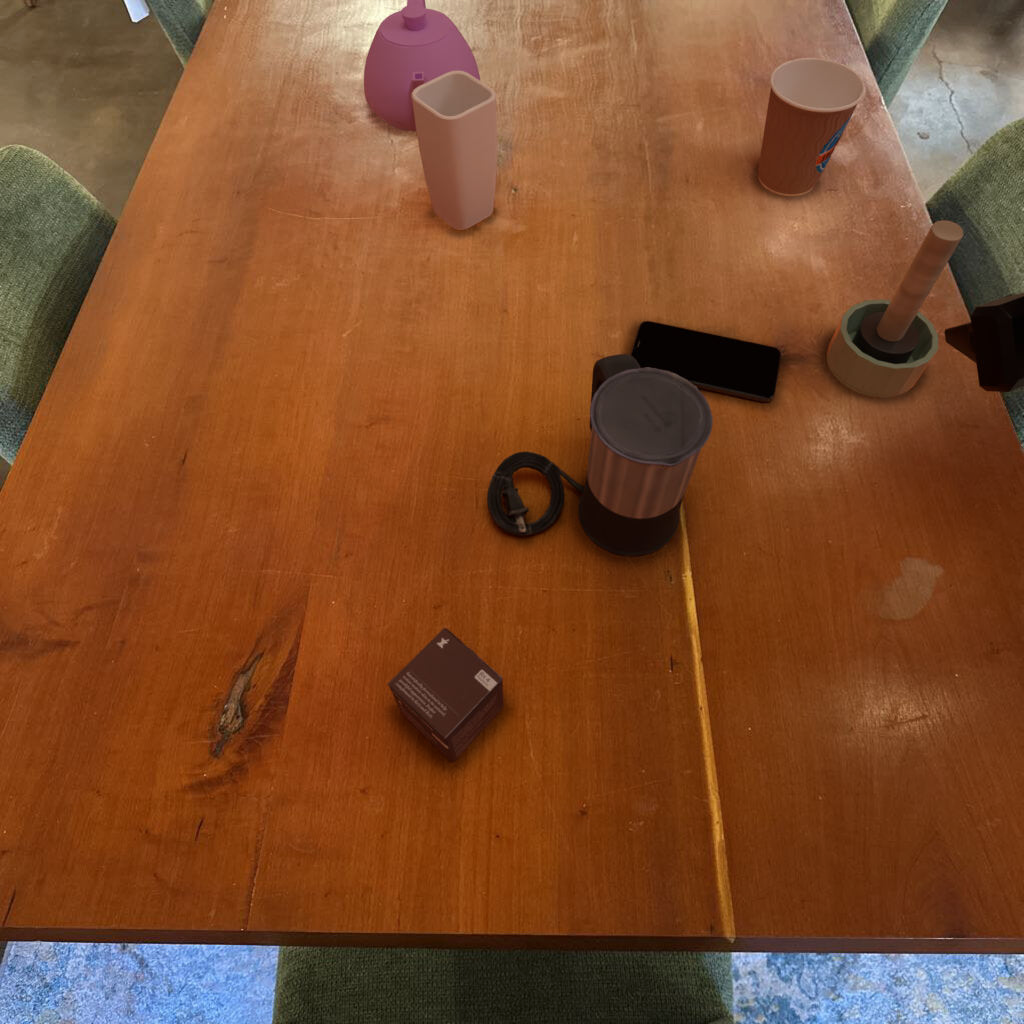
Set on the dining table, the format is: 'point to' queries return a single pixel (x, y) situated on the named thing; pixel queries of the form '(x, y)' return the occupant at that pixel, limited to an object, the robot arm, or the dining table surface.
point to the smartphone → (709, 360)
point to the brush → (908, 299)
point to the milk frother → (621, 460)
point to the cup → (458, 146)
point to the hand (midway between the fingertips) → (991, 318)
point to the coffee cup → (805, 121)
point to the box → (448, 694)
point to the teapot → (411, 60)
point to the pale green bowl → (869, 372)
